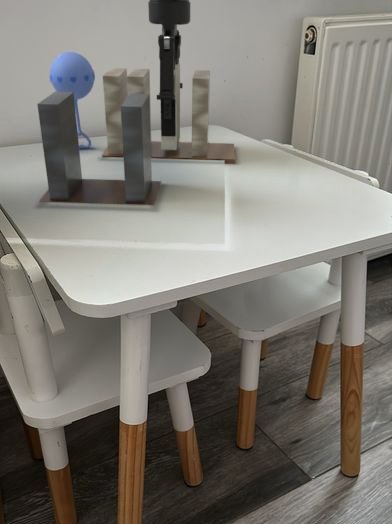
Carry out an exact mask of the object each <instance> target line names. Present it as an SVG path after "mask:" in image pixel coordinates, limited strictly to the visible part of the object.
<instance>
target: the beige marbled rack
mask: <svg viewBox="0 0 392 524" xmlns="http://www.w3.org/2000/svg"><path fill="white" fill-rule="evenodd" d="M150 73H151V72H150V68H133V70H131V72H130V73H129V74H128V69H127V68H124V67H123V68H122V67H121V68H119V67H110V69H109V70H108V71H106V72H105V73H104V74H103V75H102V85H103V86H102V87H103V102H104V116H105V127H106V128H105V130H106V144H107V148H106V149H105V151H104V152H103V153H102V155H101V156H102V158H120V159H121V158H122V159H124V157H123V139H122V121H121V105H122V104H123V103H124V101H125V100H126V99H127V98H128V96H129V95H130V94H149V101H150V102H151V80H150V79H151V78H150V77H151V75H150ZM191 81H192V83H191V84H192V87H191V89H192V93H191V99H192V100H191V141H189V142H188V141H187V142H186V141H179V143H178V147H177V150H162V149H161V141H153V140H151V160H153V159H156V160H191V161H222V162H224V164H227V165H235V164H236V155H235V154H236V153H235V152H236V151H235V143H228V142H227V143H225V142H209V130H210V129H209V125H210V124H209V123H210V121H209V120H210V90H211V89H210V88H211V70H206V69H205V70H202V69H201V70H199V69H195V70H194V72H193V75H192V80H191ZM151 109H152V108H150V136H151V137H152V118H151V117H152V113H151V111H152V110H151Z"/></svg>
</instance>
